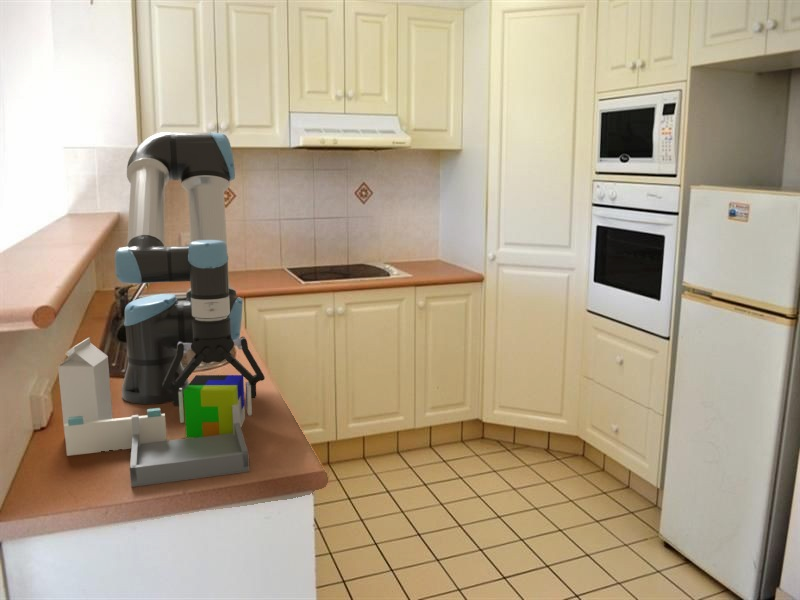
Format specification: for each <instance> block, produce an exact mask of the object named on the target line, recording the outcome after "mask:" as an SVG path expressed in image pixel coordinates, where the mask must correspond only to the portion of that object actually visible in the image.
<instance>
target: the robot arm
mask: <svg viewBox="0 0 800 600" xmlns="http://www.w3.org/2000/svg"><path fill="white" fill-rule="evenodd" d="M235 171H236V169H235V164H234V155H233V149H232V146H231V143H230V139H229V137H228V136H227V135H226V134H225V133H218V132H211V131H207V132H177V131H176V132H174V131H173V132H171V131H165V132H158V133H155V134H153V135H150V136H149V137H148V138H146V139H144V140H142V142H140V143H139V144H138V145H137V146H136V147H135V149H134V150H133V152H132V153H131V154H130V156H129V159H128V161H127V165H126V178H127V181H128V182H129V184H130V188H129V189H130V191H129V192H130V193H129V206H128V208H129V211H128V223H127V224H128V227H127V228H128V229H127V241H126V242H127V244H126V245H127V246H123V247H118V248H116V250H115V253H114V261H115V262H114V267H115V268H114V269H115V275H116V278H117V280H118V282H119V283H121V284H137V285H140V284H154V283H177V282H178V283H179V282H181V283H182V282H189V283H190V285H189V287H190V288H189V289H188V290H187V291H186V294H185V295H186V296H185V297H186V299H185V300H178V298H177V296H176V295H175V293H174V294H173V293H172V294H171V293H161V294H154V295H153V294H152V295H148V296H144V297H141V298H137V299H134V300H133V301H130V302H128V303H127V304H126V306H125V308H124V322H123V326H124V327H125V338H126V339H125V340H126V356H127V368H126V371H125V375H124V378H123V382H122V386H121V397H122V399H123V400H125V401H126V402H128V403H132V404H139V405H153V404H156V405H157V404H163V403H168V402H172V405H173V407H179V422H180V423H185V411H184V390H185V388H186V387H187V386H188V385H189V383H190V382H189V377H190V376H191V375H192V374H193V372H194V371H195V370H196V369H197V368H198V367H199V365H200V364H201V363H202V362H203V363H205V364H210V363H213V362H215V363H222V361H225V360H226V361H227V362H228V364H230V365H232V367H233V368H234V369H235V370H236V371H237V372H238V373H239V374H240V375H243V378H244V379H245V380H247V381H245V398H246V399H245V400H246V401H245V402H246V406H245V407H246V413H247V416H253V415H252V414H253V410H252V400H253V399H256V398H257V383H259V382H262V381H264V380H265V375H264V373H263V371H262V370H261V368H260V366H259V365H258V362H257V361H256V359H255V358H254V355H253V354H252V352H251V351H250V349H249V345H248V340H247V339H246V338H247V337H245V336H241V330H242V329H241V328H242V317H243V298H242V297H240V296H238V297H237V290H236V289H235V288H234V287H233V286H231V285H230V279H229V278H230V277H229V253H228V243H227V242H228V240H227V224H226V221H227V220H226V209H225V208H226V205H225V192H226V191H227V190H228V189H229V187H230V186H231V184H230V181H234V180H235V179H236V172H235ZM169 181H180V182H181V183H180V184H181V185H180V186H181V188H182V189H183V190H185V191H186V193H187V195H188V196H187V197H188V198H187V199H188V217H189V238H190V239H189V240H190V242H189V243H188V245H174V246H173V245H167V246H166V245H165V244H166V243H165V234H166V232H165V230H166V229H165V228H166V227H165V224H166V223H165V222H166V220H165V219H166V217H165V215H166V203H165V201H166V199H165V198H166V186H167V185H168V184H169ZM234 346H235V347H237V349H239V350H242V352H243V355H244V356H245V358H246V360H247V361H248V363H249V365H250V366H251V368H252V369H253V371H254V373H255V374H253V373H251V372H250V371H249V370H248V369H247V368H246V367H245V366H244V365H243V364H242V363H241V362H240V361H239V360H238V359H237V358H236V357H235V356H234V355H233V354H232V352H231V351H232V350H233V348H234ZM189 350H191V351H192V352H193V353H194V356H193V357H192V358H191V360H190V361H189V363H188V364H187V365H186V366H185V368H184V366H183V364H182V361H183V359H184V358H183V357H184V355H186V354H187V353H188V351H189Z"/></svg>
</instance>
